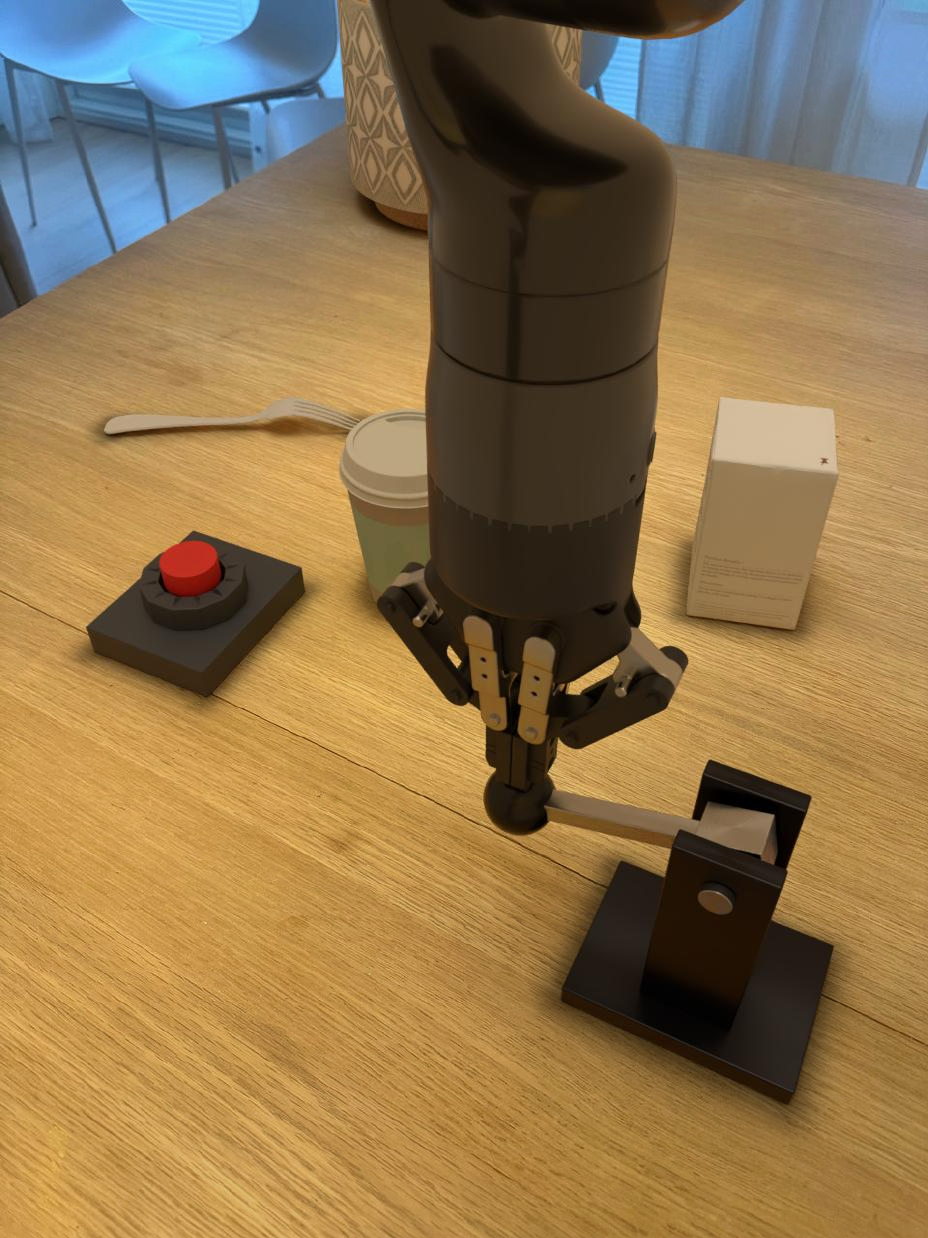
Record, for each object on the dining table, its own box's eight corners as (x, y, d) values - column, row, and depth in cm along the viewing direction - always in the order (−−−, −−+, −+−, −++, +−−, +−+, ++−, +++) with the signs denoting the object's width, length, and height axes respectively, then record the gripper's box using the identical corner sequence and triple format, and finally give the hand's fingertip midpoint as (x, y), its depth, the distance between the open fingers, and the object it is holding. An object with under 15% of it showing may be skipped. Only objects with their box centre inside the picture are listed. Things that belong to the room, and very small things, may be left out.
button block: (207, 697, 65) (196, 651, 62) (93, 651, 68) (78, 605, 65) (305, 591, 72) (299, 545, 69) (198, 554, 75) (188, 509, 72)
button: (198, 604, 66) (193, 583, 64) (152, 587, 67) (146, 566, 66) (232, 571, 68) (228, 550, 67) (187, 555, 69) (183, 534, 68)
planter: (531, 258, 110) (541, 20, 95) (314, 223, 117) (290, -4, 102) (597, 174, 128) (614, -39, 113) (404, 148, 134) (396, -56, 119)
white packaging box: (796, 562, 74) (839, 406, 65) (795, 634, 69) (842, 474, 60) (690, 547, 75) (718, 392, 67) (681, 616, 70) (711, 457, 61)
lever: (479, 842, 49) (463, 792, 47) (510, 790, 51) (495, 740, 49) (761, 913, 43) (756, 858, 41) (782, 849, 45) (778, 795, 43)
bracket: (559, 1000, 50) (579, 843, 42) (618, 872, 55) (646, 708, 47) (789, 1106, 47) (862, 957, 38) (829, 957, 52) (902, 797, 43)
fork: (119, 442, 89) (108, 415, 88) (360, 417, 88) (354, 388, 86) (111, 461, 87) (99, 433, 85) (358, 436, 86) (352, 406, 84)
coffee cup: (500, 602, 71) (504, 452, 63) (389, 649, 68) (378, 498, 60) (434, 535, 76) (431, 389, 68) (329, 576, 73) (312, 428, 65)
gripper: (310, 457, 35) (351, 780, 47) (693, 571, 31) (631, 896, 43) (417, 356, 40) (429, 672, 52) (760, 442, 36) (688, 765, 48)
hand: (520, 772), depth 47 cm, fingers closed
